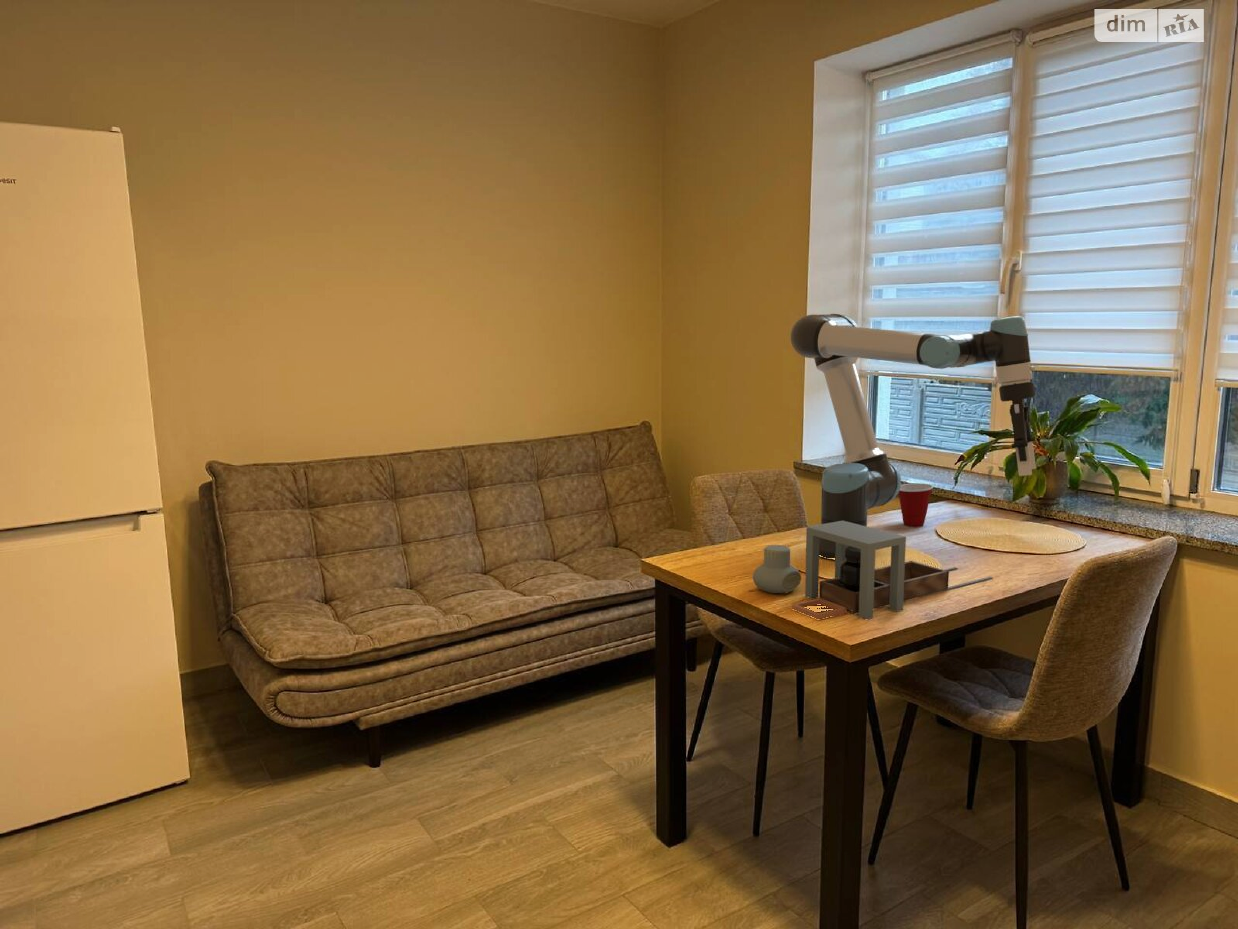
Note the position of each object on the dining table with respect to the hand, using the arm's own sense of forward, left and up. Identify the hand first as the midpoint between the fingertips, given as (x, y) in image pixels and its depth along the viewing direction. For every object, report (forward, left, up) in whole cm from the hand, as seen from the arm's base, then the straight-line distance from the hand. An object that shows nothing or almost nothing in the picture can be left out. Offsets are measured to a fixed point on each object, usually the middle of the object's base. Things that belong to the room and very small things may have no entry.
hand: (1027, 472), depth 205 cm
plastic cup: (-48, +19, -25) cm, 58 cm away
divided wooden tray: (-6, -40, -24) cm, 47 cm away
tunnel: (-6, -32, -25) cm, 41 cm away
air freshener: (-23, -57, -25) cm, 66 cm away
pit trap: (-6, -60, -25) cm, 65 cm away
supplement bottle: (-6, -49, -25) cm, 56 cm away
